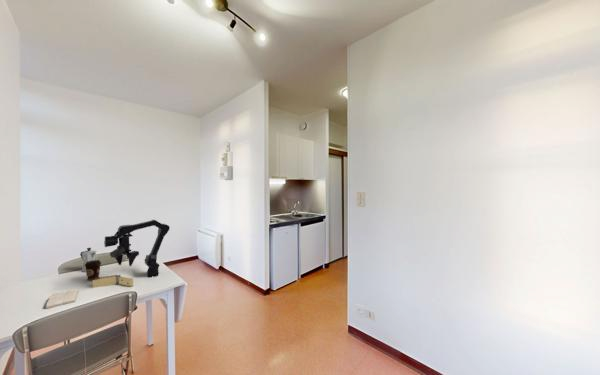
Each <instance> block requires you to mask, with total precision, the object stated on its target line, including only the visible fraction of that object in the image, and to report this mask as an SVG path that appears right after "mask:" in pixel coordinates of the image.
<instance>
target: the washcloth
mask: <svg viewBox="0 0 600 375" xmlns="http://www.w3.org/2000/svg"><path fill="white" fill-rule="evenodd" d="M79 290H80V289H79V288H73V289H69V290H63V291H60V292H55V293H52V294H51V296H49V298H48V300H47V302H46V305H45V309H51V308H55V307H56V308H57V307H60V306H64V305H65V306H66V305H67V304H72V303H76V299H77V296H78V293H79Z"/></svg>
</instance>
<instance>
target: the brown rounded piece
mask: <svg viewBox="0 0 600 375" xmlns="http://www.w3.org/2000/svg"><path fill="white" fill-rule="evenodd" d="M101 264H102V261H100V259H95V260H94V261H88V262H86V264H85V266H86V272H85V274H86V278H87V279H86V280H87V281H93V280H94V278H99V277H100V270H101Z"/></svg>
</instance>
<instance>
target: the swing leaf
mask: <svg viewBox="0 0 600 375" xmlns="http://www.w3.org/2000/svg"><path fill="white" fill-rule="evenodd" d="M116 275H117V276H116V284H115V285H121V286H126V287H134V278H131V277H127V276H121V274H116Z"/></svg>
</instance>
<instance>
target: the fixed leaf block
mask: <svg viewBox="0 0 600 375" xmlns="http://www.w3.org/2000/svg"><path fill="white" fill-rule="evenodd" d="M117 275H118V274H112V275H106V276H99V278H94V280H92V289H93V288H99V287H105V286H111V285H117V284H116V276H117Z"/></svg>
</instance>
